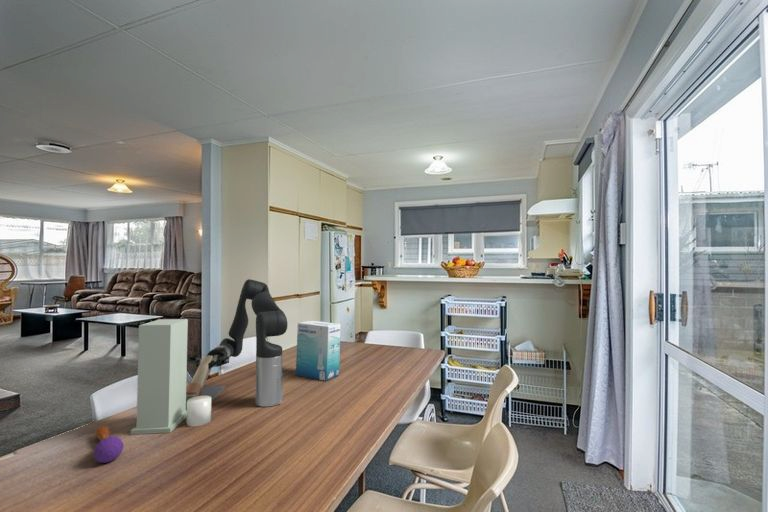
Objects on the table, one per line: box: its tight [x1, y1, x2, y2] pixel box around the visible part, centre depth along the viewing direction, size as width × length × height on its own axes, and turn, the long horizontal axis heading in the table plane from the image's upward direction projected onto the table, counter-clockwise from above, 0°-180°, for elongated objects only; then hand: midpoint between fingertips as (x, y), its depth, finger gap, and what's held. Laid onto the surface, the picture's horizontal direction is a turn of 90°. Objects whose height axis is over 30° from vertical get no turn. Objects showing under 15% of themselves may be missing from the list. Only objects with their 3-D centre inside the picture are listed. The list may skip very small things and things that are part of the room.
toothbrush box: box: [295, 320, 342, 382], centre depth 161 cm, size 18×10×24 cm, turn 63°
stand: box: [130, 318, 189, 435], centre depth 112 cm, size 11×14×32 cm
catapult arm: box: [186, 355, 214, 403], centre depth 134 cm, size 4×20×4 cm, turn 7°
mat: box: [186, 385, 226, 410], centre depth 133 cm, size 10×22×1 cm, turn 7°
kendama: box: [93, 425, 124, 464], centre depth 95 cm, size 6×6×20 cm
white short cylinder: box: [185, 396, 212, 427], centre depth 113 cm, size 7×7×7 cm
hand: (203, 366), depth 137 cm, fingers closed on catapult arm, 3 cm apart
